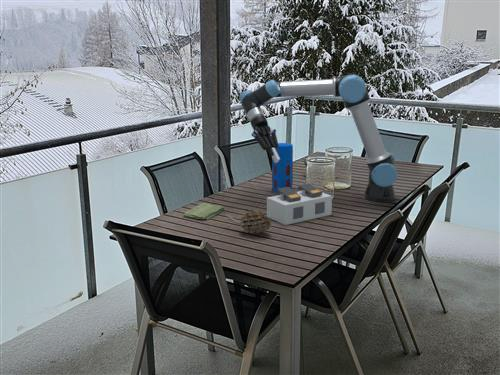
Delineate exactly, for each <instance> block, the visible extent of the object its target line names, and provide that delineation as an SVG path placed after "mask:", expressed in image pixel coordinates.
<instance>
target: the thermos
mask: <svg viewBox="0 0 500 375" xmlns="http://www.w3.org/2000/svg"><path fill="white" fill-rule="evenodd" d="M276 149H277V151H278V156H279V158H280V160H279V161H278V163H275V162H274V160H273V158H272V157H271V189H272V191H271V192H273V193H274V194H275V193H276V194H279V193H278V192H277V189H278V188H284V187H289V188H291V189H292V190H293V179H294V178H293V173H294V172H293V171H294V170H293V168H294V167H293V166H294V164H293V163H294V160H293V159H294V145H293V143H288V142H278V147H277V148H276Z"/></svg>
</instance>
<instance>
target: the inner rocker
mask: <svg viewBox="0 0 500 375" xmlns="http://www.w3.org/2000/svg"><path fill="white" fill-rule="evenodd" d="M297 188H298V189H299V190H300V191H302V190H305V191H306V194H307V195H309V196H310V197H315V196H320V195H322V192H323V191H322V190H320V189H319V188H318V187H316V188H315V186H314V185H313V184H311V183H305V184H300V185H298V187H297ZM317 188H318V189H317Z"/></svg>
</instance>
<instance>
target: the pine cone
mask: <svg viewBox="0 0 500 375" xmlns="http://www.w3.org/2000/svg"><path fill="white" fill-rule="evenodd" d="M226 217H227V219H228V220H229V221H231V222H232V223H233V222H234V224H237V225H240V226H241V228H242V229H243V232H245V233H249V234H253V235H254V233H256V234H260V233H261V232H262V233H265V232H267V230H269V229H270V228H271V227H272V219H271V218H269V217H268V216H267V215H265V213H264V212H263V211H261V210H258V209H256V210H252V211H249V212H246V213H244V215H242V216H241V218H240V221H239V220H237V219H235V218H234V217H232V216H231V215H229V213H227V214H226ZM270 219H271V220H270Z"/></svg>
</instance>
